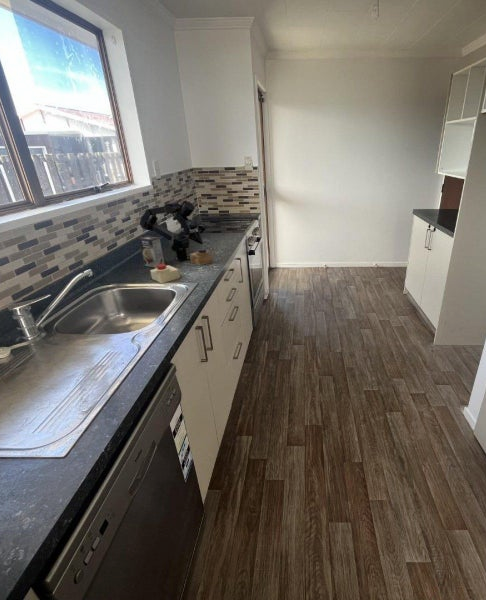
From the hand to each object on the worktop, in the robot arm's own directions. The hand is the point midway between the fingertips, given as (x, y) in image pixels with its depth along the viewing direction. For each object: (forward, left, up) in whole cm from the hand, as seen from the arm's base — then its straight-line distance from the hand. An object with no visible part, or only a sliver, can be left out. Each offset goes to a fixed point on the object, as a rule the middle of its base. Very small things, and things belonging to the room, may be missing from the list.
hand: (202, 243), depth 184 cm
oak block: (-2, -1, -11) cm, 12 cm away
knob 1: (+8, -29, -5) cm, 30 cm away
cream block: (+6, -27, -11) cm, 30 cm away
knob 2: (+1, -1, -5) cm, 5 cm away
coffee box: (-18, -21, -12) cm, 30 cm away
